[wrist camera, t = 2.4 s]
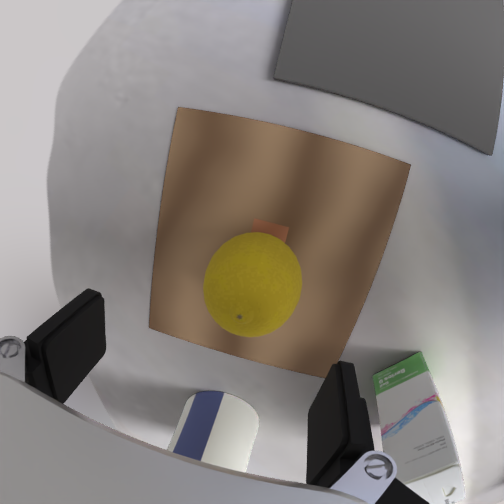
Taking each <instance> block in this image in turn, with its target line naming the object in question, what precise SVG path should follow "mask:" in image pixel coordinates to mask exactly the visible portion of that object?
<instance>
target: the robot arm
mask: <svg viewBox="0 0 504 504" xmlns="http://www.w3.org/2000/svg"><path fill="white" fill-rule="evenodd" d="M105 351H106V336H105V311H104V298H103V297H102V295H101V293H100V292H97V291H94V290H92V289H86V290H85V291H83V292H82V293H81V294H80V295H78V296H77V297H76V298H74V299H73V300H72V301H71V302H69V303H68V304H67V305H65V306H64V307H63V308H62V309H60V310H59V311H58V312H57V313H55V314H54V315H53V316H52V317H51V318H49V319H48V320H47V321H46V322H44V323H43V324H42V325H41V326H39V327H38V328H37V329H36V330H35V331H33V332H32V333H31V334H30V335H29V336H27V340H26V341H25V342H23V341H22V340H21V339H19V338H17V337H15V336H6V337H3V338H0V504H430V503H429V502H427V501H426V500H424V499H423V498H422V497H420V496H419V495H418V494H416V493H415V492H414V491H412V490H411V489H410V488H408V487H407V486H406V485H405V484H403V483H402V482H401V481H399V480H398V479H397V478H395V476H396V474H397V466H396V463H395V461H394V460H393V458H392V457H390V456H389V455H388V454H386V453H384V452H381V451H375V450H374V444H373V438H372V432H371V426H370V421H369V415H368V410H367V405H366V401H365V399H364V398H360V394H359V389H358V383H357V378H356V373H355V368H354V364H353V363H348V362H343V361H338V363H337V364H332V366H331V368H330V370H329V372H328V374H327V376H326V378H325V380H324V382H323V384H322V386H321V388H320V390H319V392H318V394H317V396H316V398H315V400H314V402H313V403H312V405H311V407H310V409H309V413H308V441H307V474H306V483H307V484H303V483H298V482H291V481H285V480H280V479H274V478H269V477H264V476H259V475H254V474H249V473H245V472H240V471H236V470H232V469H228V468H224V467H220V466H216V465H212V464H209V463H205V462H202V461H198V460H195V459H192V458H189V457H185V456H182V455H179V454H176V453H173V452H170V451H167V450H164V449H162V448H159V447H156V446H153V445H151V444H148V443H146V442H143V441H140V440H138V439H135V438H133V437H131V436H128V435H126V434H123V433H121V432H119V431H117V430H114V429H112V428H110V427H108V426H105V425H103V424H101V423H99V422H97V421H95V420H93V419H90V418H89V417H87V416H85V415H83V414H81V413H79V412H77V411H75V410H73V409H71V408H69V407H67V406H66V405H64V404H63V403H64V402H65V401H66V400H67V399H68V398H69V396H70V395H71V394H72V393H73V391H74V390H75V389H76V388H77V387H78V385H79V384H80V383H81V382H82V381H83V379H84V378H85V377H86V376H87V374H88V373H89V372H90V371H91V370H92V369H93V367H94V366H95V365H96V364H97V363H98V361H99V360H100V359H101V358H102V357H103V355H104V354H105Z"/></svg>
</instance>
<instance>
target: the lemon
mask: <svg viewBox="0 0 504 504" xmlns="http://www.w3.org/2000/svg"><path fill="white" fill-rule="evenodd" d="M301 289H302V274H301V267H300V265H299V262H298V260H297V257H296V255H295V254H294V253H293V251H292V250H291V249H290V247H289V246H288V245H286V244H285V243H284V242H283V241H282V240H280V239H279V238H277V237H274V236H272V235H270V234H266V233H261V232H252V233H244V234H241V235H238V236H235V237H233V238H232V239H230V240H229V241H227V242H225V243H224V244H223V245H222V246H221V247H220V248H219V249H218V250H217V251H216V252H215V254H214V255H213V256H212V258H211V260H210V262H209V264H208V266H207V269H206V272H205V278H204V284H203V293H204V301H205V304H206V307H207V309H208V312H209V313H210V315H211V316H212V318H213V319H214V320H215V322H216V323H218V324H219V325H220V326H221V327H222V328H223V329H225V330H227V331H228V332H230V333H232V334H235V335H238V336H243V337H259V336H263V335H266V334H269V333H271V332H273V331H275V330H276V329H278V328H279V327H281V326H282V325H283V324H284V323H285V322H286V321H287V320H288V319H289V317H290V316H291V315H292V313H293V312H294V310H295V308H296V306H297V304H298V302H299V299H300V295H301Z"/></svg>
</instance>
